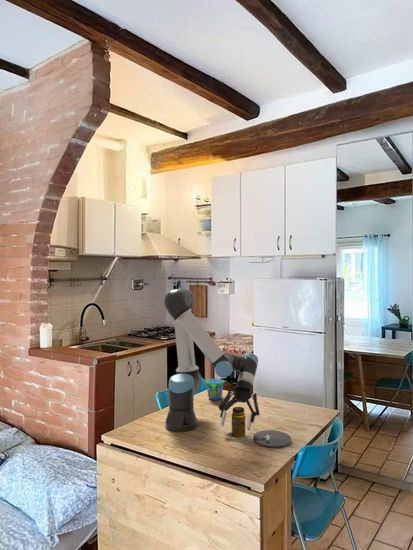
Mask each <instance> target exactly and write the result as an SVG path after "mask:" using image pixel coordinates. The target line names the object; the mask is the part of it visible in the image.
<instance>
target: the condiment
mask: <svg viewBox="0 0 413 550" xmlns="http://www.w3.org/2000/svg"><path fill="white" fill-rule="evenodd" d="M224 435H225V436H226V437H228V438H230V439H232V440H238V439H243V438H246V437H249V434H247V433H246V414H245V408H244V407H243V406H234V407H233V408H232V414H231V432H228V433H224Z"/></svg>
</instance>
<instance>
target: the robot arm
mask: <svg viewBox="0 0 413 550" xmlns="http://www.w3.org/2000/svg"><path fill="white" fill-rule="evenodd" d="M163 304H164V308H165V309H166V311H167V313H168V314H169V316H170V318H172V319H173V323H174V331H175V332H174V334H175V344H176V354H177V365H178V366H177V368H176V369H175V374H174V375H172V376H170V378H169V380H168V413H167V416H166V419H165V428H166V429H167V430H169V431H172V432H188V431H189V432H190V431H192V430H194V429H196V428H197V427H198V419H197V416H196V413H195V407H194V405H195V403H194V401H195V400H194V396H195V395H197V393H198V392H199V391H200V389H201V387H202V384H203V377H202V375H201V373H200V370H199V368H200V367H199V366H198V365H196V357H195V349H194V348H195V347H194V345H195V344H196V346H197V347H198V349H200V351H201V352H202V354H203V355H204V356H205V357H206V358H207V360H208V361H209V362H210V364H211V365H212V367H214V371H215V373H216V375H217V376H218V378H219V377H220V378H221V379H224V378H227V377H229V376H230V375H232V374H233V372H237V373H239V374H238V378H237V383H236V386H235V390H234V391H231V390H228V391H227V394H226V396H225V397H224V398H223V400H222V401H221V403H220V404H219V405H218V409H219V411H221V412H220V415H219V417H220V423H219V425H221V427H224V426H225V421H226V417H227V411H228V410H229V409H230V408H231V407H232V406H234V404H236V403H246V404H247V407H248V408H249V411H250V413H249V416H248V421H247V425H246V429H247V431H251V427H252V424H253V423H254V422H255V418H256V416H260V414H261V413H260V410H259V409H260V408H259V405H258V404H259V403H258V395H257V393H255V392H254V393H252V391H253V385H254V382H255V377H256V373H257V370H258V369H257V368H258V362H259V357H258V356H257V355H256V354H254V353H250V352H249V353H245V354H244V356H240V355H235V354H231V353H228V352H224V351H223V350H222V349H221V347H220V346H219V345H218V344H217V343H216V341H215V340H214V339H213V338H212V337H211V335H210V334H209V332H207V330H206V329H205V327H204V326H203V324H201V322H200V321H199V320H198V319H197V317H196V316H195V314H194V306H195V296H194V294H193V293H192V291H190V290H188V289H186V288H177V289H172V290H169V291H168V292H167V293H166V294H165V296H164V298H163ZM194 343H195V344H194ZM251 398H252V400H253V405H254V408H253V407H252V405H251V402H250V401H249V400H250V399H251ZM254 409H255V411H254Z"/></svg>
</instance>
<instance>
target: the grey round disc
mask: <svg viewBox="0 0 413 550" xmlns="http://www.w3.org/2000/svg"><path fill="white" fill-rule="evenodd" d="M252 439H253V440H252V441H253V442H254V444H255V445H257V446H260V447H263V448H265V449H266V448H268V449H280V448H281V449H283V448H286V447H288V446H289V445H291V440H292V439H291V436H290V435H289V434H288V433H287V432H283V431H280V430H274V429H267V430H265V429H263V430H260V431H256V432H255V433H254V434H253V438H252Z"/></svg>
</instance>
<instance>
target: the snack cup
mask: <svg viewBox="0 0 413 550" xmlns="http://www.w3.org/2000/svg"><path fill="white" fill-rule="evenodd" d="M205 385H206V390H207V398H208V399H209V400H211V401H212V400H213V401H219V400H221V399H222V396H223V390H224V385H225V381H224V379H222V378H221V379H220V378H210V379H209V378H208V379H206V380H205Z"/></svg>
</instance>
